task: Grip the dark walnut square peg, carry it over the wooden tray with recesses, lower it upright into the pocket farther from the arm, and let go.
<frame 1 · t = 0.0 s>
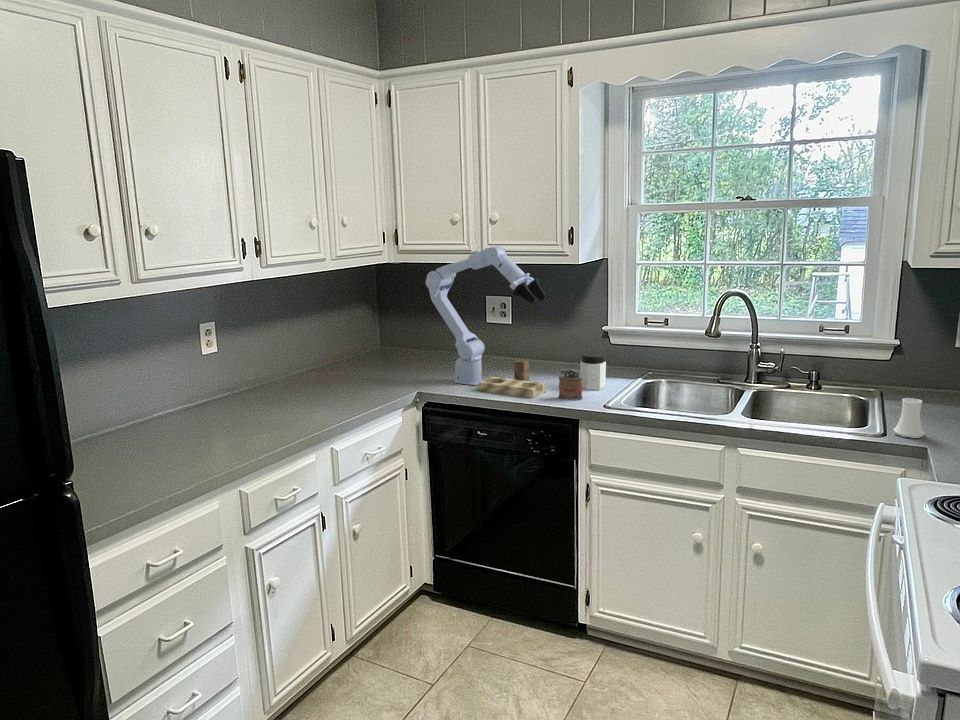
hand: (539, 300, 251), 32 cm above the worktop, fingers open, 7 cm apart
peg: (521, 382, 271), on the worktop
jar: (592, 387, 262), on the worktop
wooden tray with recesses: (511, 391, 259), on the worktop
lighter: (570, 398, 248), on the worktop
white flared vase: (908, 435, 206), on the worktop
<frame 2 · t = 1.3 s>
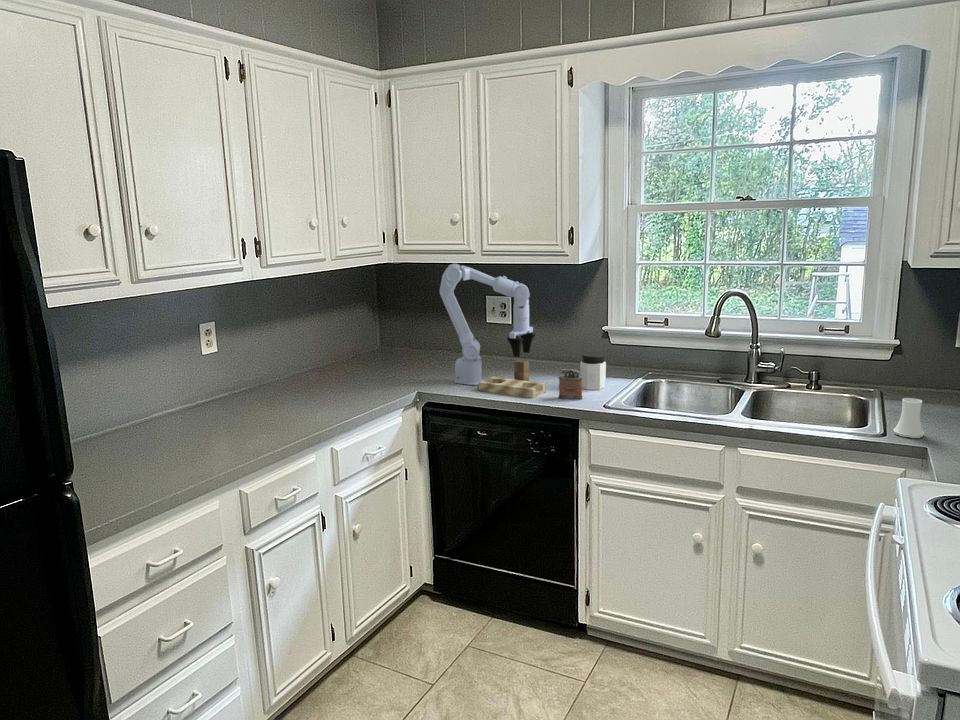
hand: (521, 354, 269), 10 cm above the worktop, fingers open, 7 cm apart
nothing on the worktop moved.
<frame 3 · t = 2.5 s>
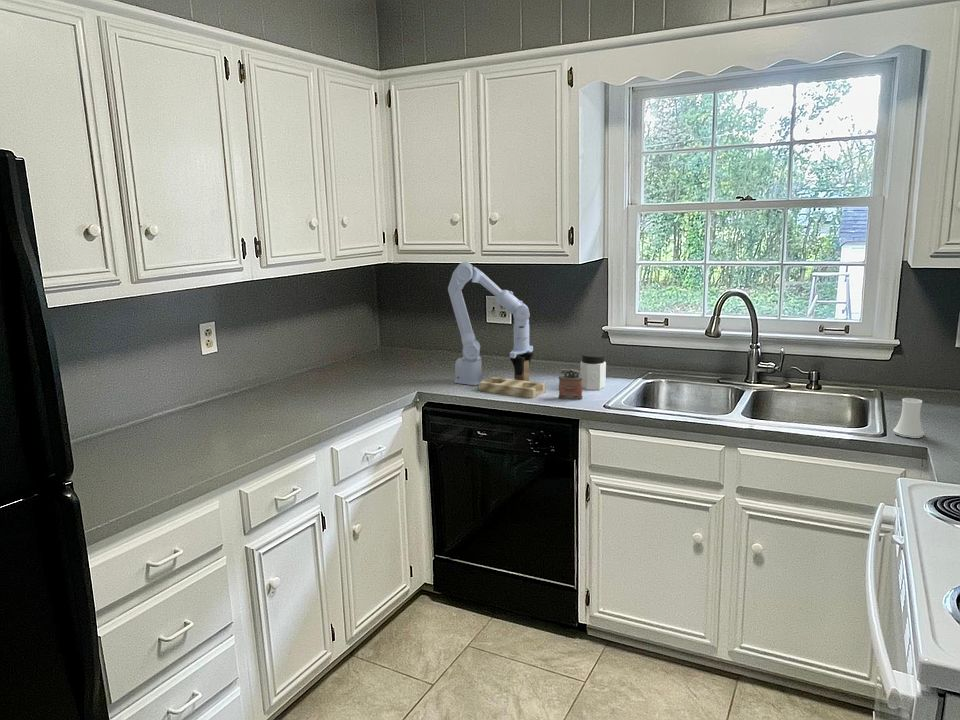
hand: (521, 373, 270), 3 cm above the worktop, fingers closed on peg, 4 cm apart
peg: (521, 382, 271), on the worktop, touching gripper
everything else where it was.
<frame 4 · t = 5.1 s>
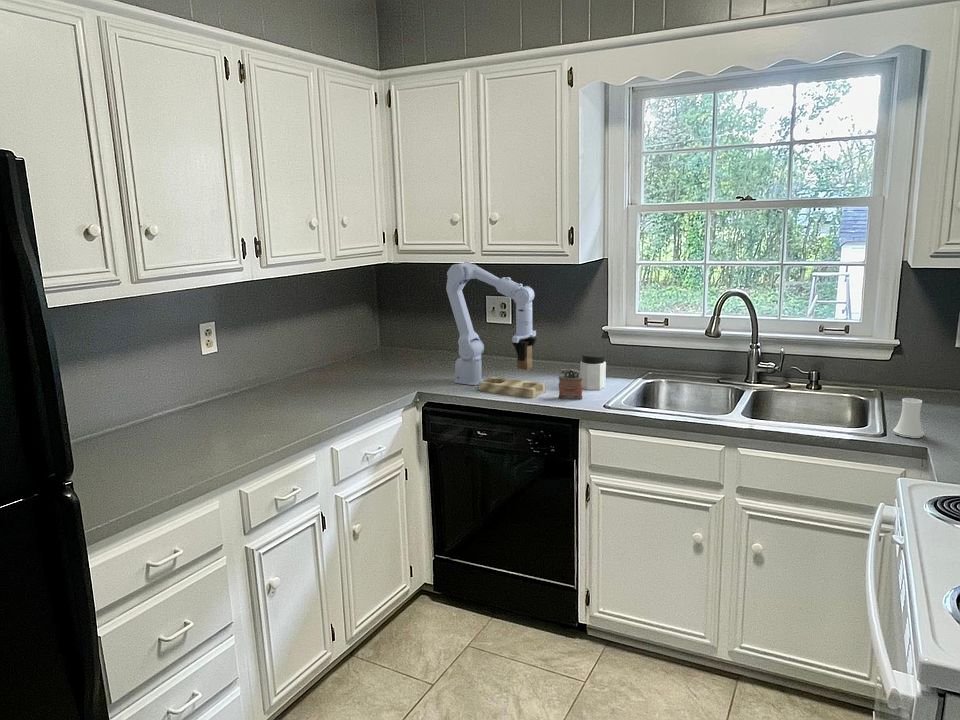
hand: (524, 359, 261), 10 cm above the worktop, fingers closed on peg, 4 cm apart
peg: (524, 368, 261), point 7 cm above the worktop, touching gripper
everything else where it was.
when the fingers open (4 cm above the worktop, at t = 7.6 s): peg drops 1 cm, resting in wooden tray with recesses.
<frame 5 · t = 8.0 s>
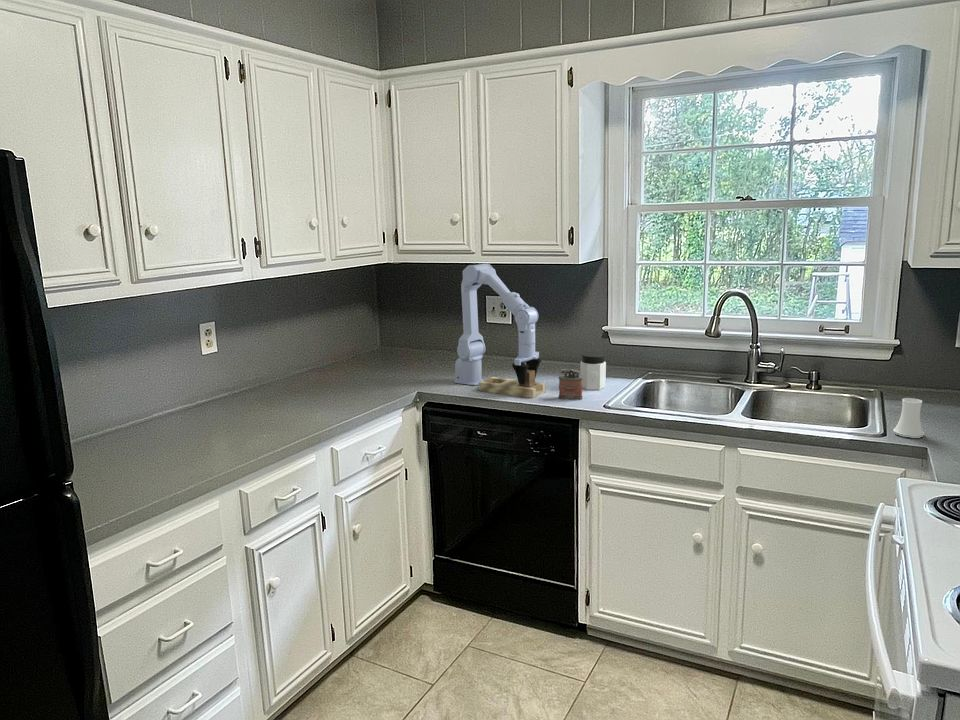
hand: (527, 381, 255), 4 cm above the worktop, fingers open, 7 cm apart
peg: (527, 393, 256), resting in wooden tray with recesses
everything else where it was.
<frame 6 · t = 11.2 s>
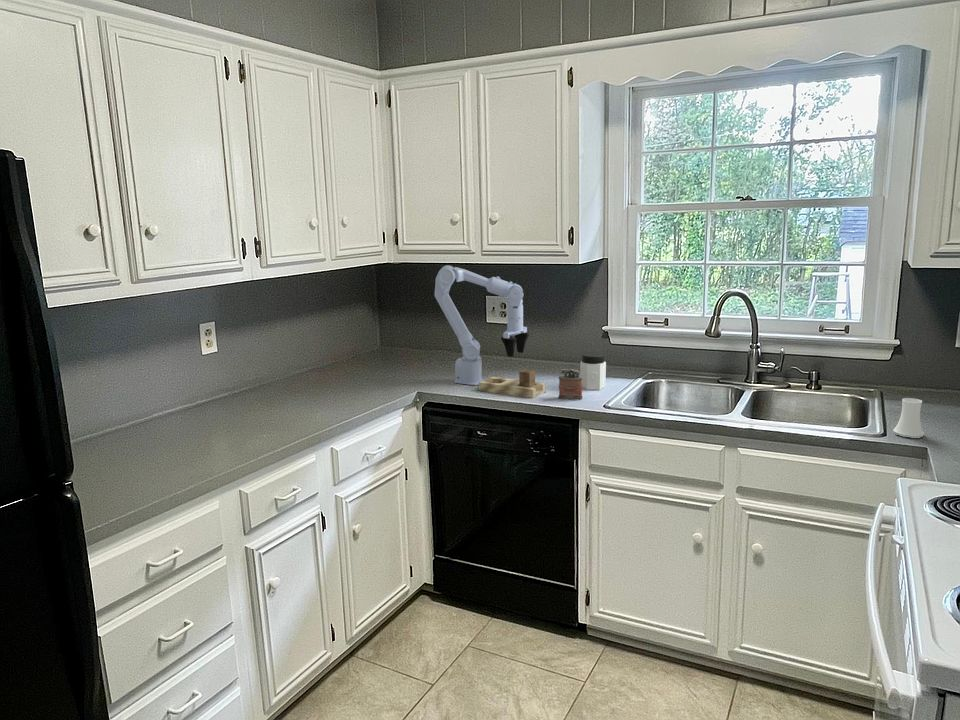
hand: (515, 354, 269), 10 cm above the worktop, fingers open, 7 cm apart
nothing on the worktop moved.
at the end: peg 0.1 cm from the target spot on the wooden tray with recesses, point 0.0 cm above the wooden tray with recesses's base; peg tilted 0°; the gripper is holding nothing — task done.
